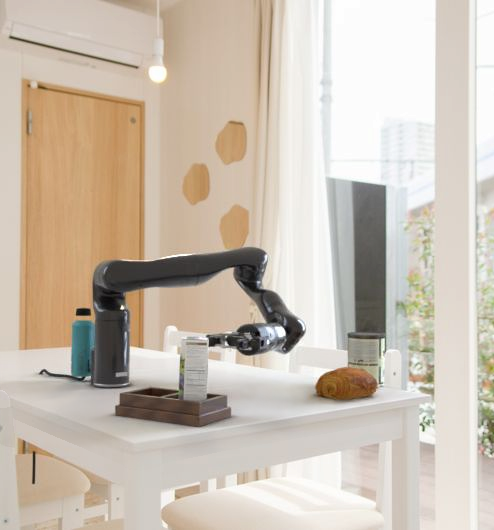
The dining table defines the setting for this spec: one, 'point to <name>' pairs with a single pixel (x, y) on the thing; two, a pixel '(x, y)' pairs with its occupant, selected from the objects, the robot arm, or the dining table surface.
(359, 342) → the coffee can
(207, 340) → the syrup box
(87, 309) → the beverage bottle
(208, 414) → the shallow walnut tray
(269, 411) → the dining table surface
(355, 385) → the croissant
